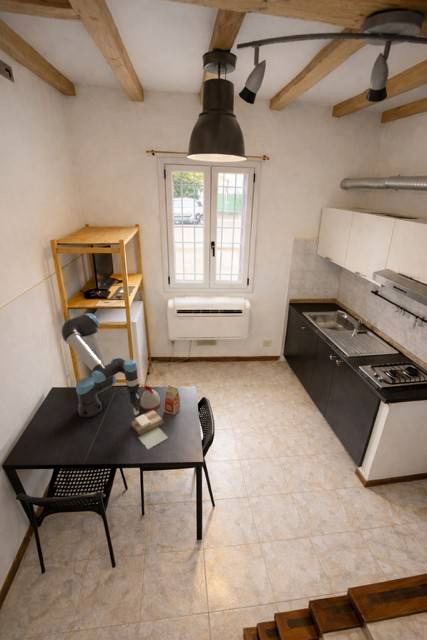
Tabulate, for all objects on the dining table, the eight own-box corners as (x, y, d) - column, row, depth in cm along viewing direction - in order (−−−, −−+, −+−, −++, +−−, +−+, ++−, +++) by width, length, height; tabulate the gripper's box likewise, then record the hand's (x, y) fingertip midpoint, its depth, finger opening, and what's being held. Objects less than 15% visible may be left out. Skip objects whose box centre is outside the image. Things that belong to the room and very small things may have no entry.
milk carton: (163, 411, 213) (161, 387, 204) (170, 403, 220) (168, 379, 212) (175, 415, 209) (174, 390, 201) (182, 406, 217) (180, 382, 209)
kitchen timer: (151, 395, 229) (149, 378, 223) (164, 402, 222) (163, 384, 215) (136, 405, 219) (134, 387, 213) (150, 413, 211) (148, 395, 205)
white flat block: (135, 420, 199) (135, 418, 198) (143, 416, 202) (143, 414, 201) (142, 428, 192) (141, 426, 192) (150, 424, 196) (150, 421, 195)
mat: (138, 438, 191) (138, 437, 191) (158, 427, 199) (158, 426, 199) (147, 449, 182) (147, 449, 182) (168, 438, 191) (168, 437, 190)
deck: (131, 425, 201) (131, 420, 199) (153, 414, 210) (153, 409, 208) (140, 435, 192) (140, 430, 191) (163, 424, 202) (162, 419, 200)
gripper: (122, 381, 196) (126, 411, 205) (131, 390, 187) (136, 421, 196) (133, 376, 200) (137, 406, 210) (143, 385, 191) (146, 416, 200)
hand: (136, 413), depth 203 cm, fingers closed
